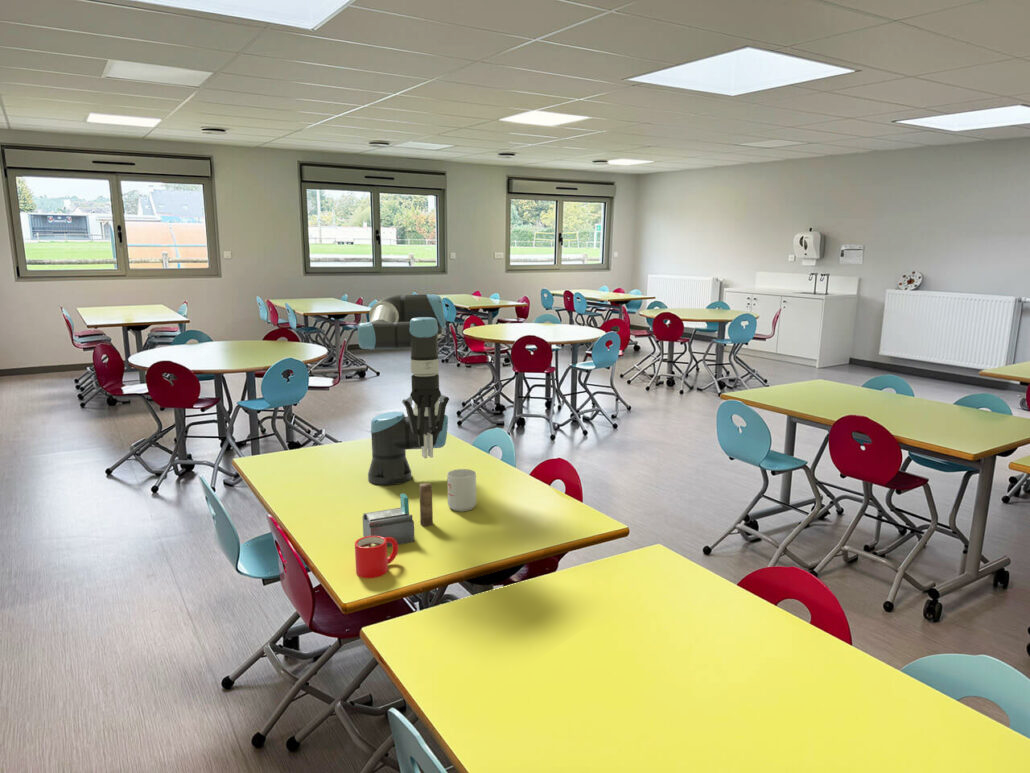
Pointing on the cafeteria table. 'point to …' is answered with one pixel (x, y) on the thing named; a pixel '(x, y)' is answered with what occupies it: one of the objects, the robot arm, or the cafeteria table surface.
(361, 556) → the mug
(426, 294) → the robot arm
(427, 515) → the dowel
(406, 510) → the grey teal l-shaped bracket
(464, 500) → the mug
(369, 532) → the mount
